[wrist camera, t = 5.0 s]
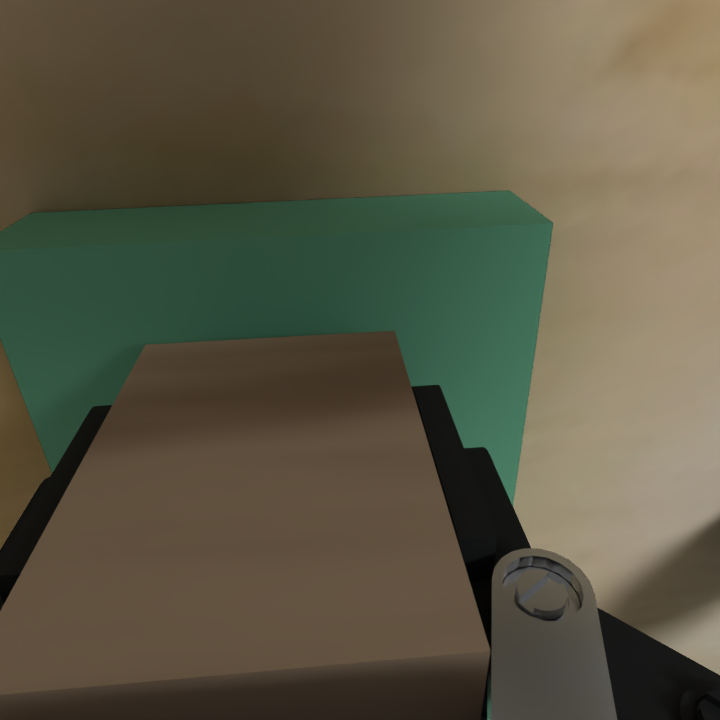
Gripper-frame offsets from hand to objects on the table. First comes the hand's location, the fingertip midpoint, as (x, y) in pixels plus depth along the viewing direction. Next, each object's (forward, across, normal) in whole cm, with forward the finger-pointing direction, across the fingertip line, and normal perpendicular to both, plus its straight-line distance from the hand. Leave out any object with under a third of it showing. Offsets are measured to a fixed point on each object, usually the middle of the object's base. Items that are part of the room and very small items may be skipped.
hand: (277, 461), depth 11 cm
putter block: (+1, 0, +1) cm, 2 cm away
